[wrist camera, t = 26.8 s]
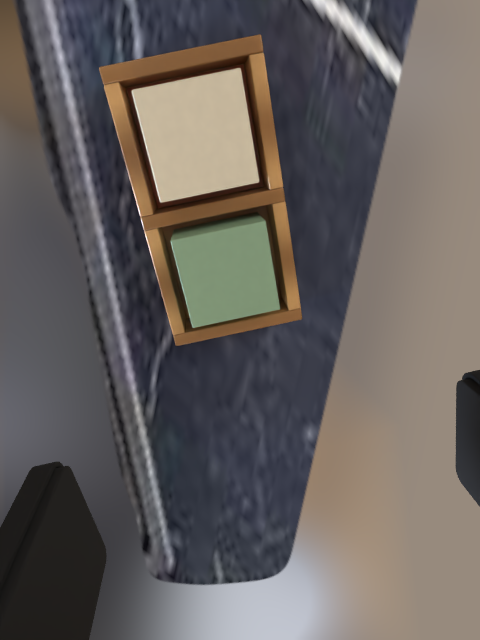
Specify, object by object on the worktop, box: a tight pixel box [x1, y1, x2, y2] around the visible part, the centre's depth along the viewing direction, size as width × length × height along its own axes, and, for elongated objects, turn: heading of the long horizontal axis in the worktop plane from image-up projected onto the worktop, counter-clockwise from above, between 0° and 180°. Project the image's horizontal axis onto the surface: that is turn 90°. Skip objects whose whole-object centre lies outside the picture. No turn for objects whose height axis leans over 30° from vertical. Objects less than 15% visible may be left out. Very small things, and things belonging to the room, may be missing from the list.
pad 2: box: [170, 212, 280, 328], centre depth 27 cm, size 6×6×4 cm
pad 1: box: [132, 68, 259, 203], centre depth 24 cm, size 6×6×4 cm
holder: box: [99, 34, 302, 346], centre depth 26 cm, size 16×8×3 cm, turn 11°
